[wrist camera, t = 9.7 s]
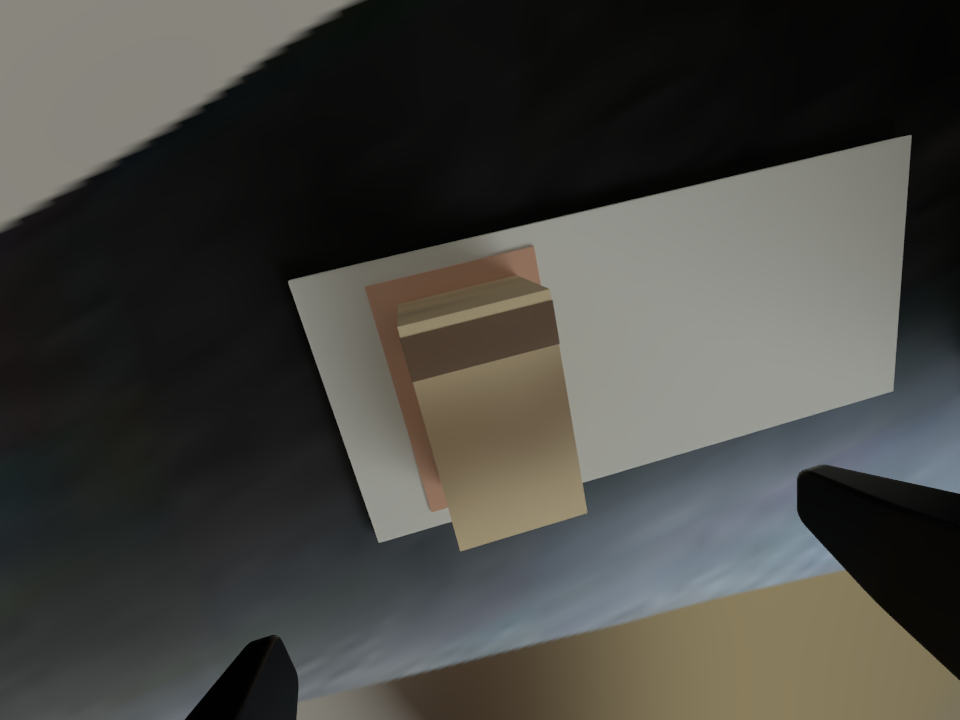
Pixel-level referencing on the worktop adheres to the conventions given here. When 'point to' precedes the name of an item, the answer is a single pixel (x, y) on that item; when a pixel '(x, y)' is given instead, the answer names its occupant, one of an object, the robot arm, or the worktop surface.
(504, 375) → the two-tone wooden box
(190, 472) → the worktop surface
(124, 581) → the worktop surface
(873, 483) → the robot arm
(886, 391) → the grey mat
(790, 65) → the worktop surface
